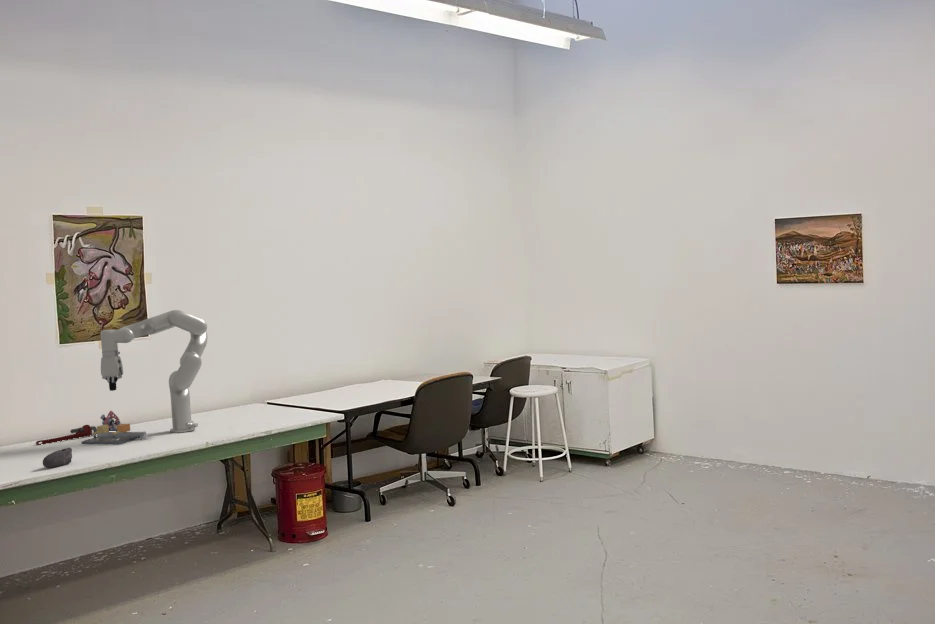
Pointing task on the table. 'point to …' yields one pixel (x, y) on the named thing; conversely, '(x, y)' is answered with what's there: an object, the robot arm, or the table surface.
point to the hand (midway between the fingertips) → (113, 390)
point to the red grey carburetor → (111, 421)
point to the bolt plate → (107, 436)
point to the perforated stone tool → (58, 458)
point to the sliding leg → (122, 429)
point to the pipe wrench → (79, 432)
